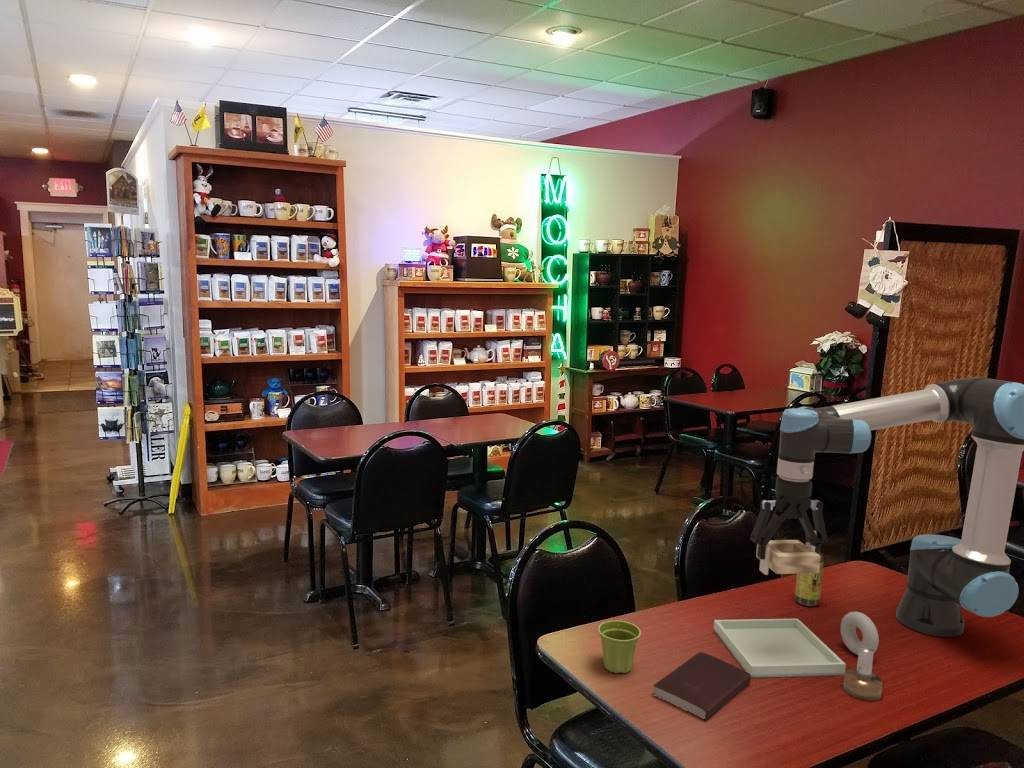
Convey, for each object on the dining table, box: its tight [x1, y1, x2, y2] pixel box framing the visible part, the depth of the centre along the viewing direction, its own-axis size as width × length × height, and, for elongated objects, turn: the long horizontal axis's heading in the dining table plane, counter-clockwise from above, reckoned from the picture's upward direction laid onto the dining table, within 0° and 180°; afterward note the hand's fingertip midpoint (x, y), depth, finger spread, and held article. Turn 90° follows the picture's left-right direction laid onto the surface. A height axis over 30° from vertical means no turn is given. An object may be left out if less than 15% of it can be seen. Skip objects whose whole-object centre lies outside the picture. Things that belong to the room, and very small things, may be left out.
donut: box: [840, 611, 880, 656], centre depth 166 cm, size 10×4×10 cm, turn 19°
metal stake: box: [842, 646, 883, 702], centre depth 150 cm, size 7×7×10 cm
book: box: [652, 651, 751, 721], centre depth 150 cm, size 12×19×3 cm, turn 136°
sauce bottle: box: [794, 529, 825, 607], centre depth 192 cm, size 6×6×20 cm
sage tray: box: [713, 618, 847, 678], centre depth 166 cm, size 22×22×3 cm
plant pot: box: [597, 619, 642, 674], centre depth 157 cm, size 9×9×9 cm
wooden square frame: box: [755, 539, 821, 575], centre depth 162 cm, size 10×10×4 cm
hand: (785, 572), depth 163 cm, fingers closed on wooden square frame, 10 cm apart
